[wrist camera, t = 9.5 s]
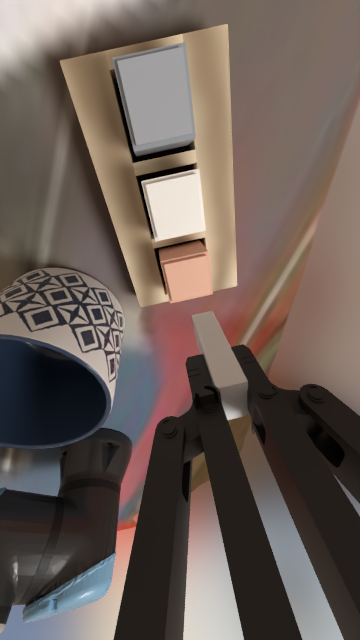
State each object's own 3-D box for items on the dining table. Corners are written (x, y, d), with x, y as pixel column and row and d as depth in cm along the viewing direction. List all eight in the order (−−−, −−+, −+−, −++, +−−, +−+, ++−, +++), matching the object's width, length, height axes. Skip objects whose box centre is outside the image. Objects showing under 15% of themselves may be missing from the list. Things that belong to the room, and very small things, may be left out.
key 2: (136, 156, 21) (133, 151, 17) (119, 83, 18) (111, 55, 14) (187, 145, 21) (197, 137, 17) (177, 70, 18) (186, 38, 14)
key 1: (167, 286, 29) (170, 305, 25) (158, 249, 26) (160, 262, 22) (204, 278, 29) (213, 295, 25) (199, 240, 26) (209, 252, 22)
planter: (144, 300, 32) (141, 374, 20) (100, 370, 38) (79, 459, 26) (22, 241, 26) (-89, 297, 14) (-5, 337, 32) (-97, 432, 20)
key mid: (154, 231, 25) (155, 242, 21) (142, 180, 22) (141, 181, 18) (197, 222, 25) (206, 231, 21) (190, 170, 22) (200, 168, 18)
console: (141, 296, 31) (140, 307, 29) (71, 76, 19) (59, 60, 16) (230, 277, 31) (237, 286, 29) (217, 44, 19) (227, 23, 16)
